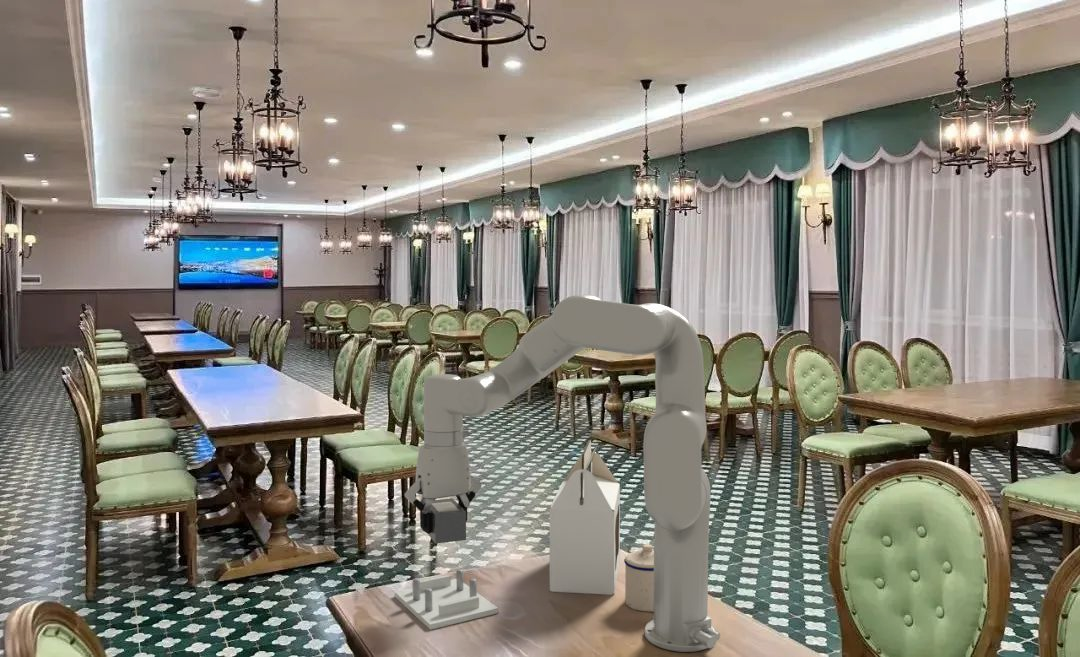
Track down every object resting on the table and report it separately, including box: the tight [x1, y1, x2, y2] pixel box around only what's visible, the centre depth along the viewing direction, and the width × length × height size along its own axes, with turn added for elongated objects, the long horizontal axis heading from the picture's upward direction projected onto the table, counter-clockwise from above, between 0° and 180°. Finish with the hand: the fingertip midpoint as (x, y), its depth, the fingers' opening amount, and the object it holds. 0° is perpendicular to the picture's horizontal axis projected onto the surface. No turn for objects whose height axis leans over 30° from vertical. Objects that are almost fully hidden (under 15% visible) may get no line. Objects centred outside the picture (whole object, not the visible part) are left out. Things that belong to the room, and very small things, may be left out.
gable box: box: [549, 439, 621, 596], centre depth 173 cm, size 22×13×28 cm, turn 171°
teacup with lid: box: [623, 543, 654, 613], centre depth 159 cm, size 12×9×12 cm
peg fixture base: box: [394, 568, 499, 631], centre depth 157 cm, size 18×14×5 cm
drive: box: [428, 497, 467, 545], centre depth 157 cm, size 10×6×6 cm, turn 21°
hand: (444, 527), depth 157 cm, fingers closed on drive, 6 cm apart
